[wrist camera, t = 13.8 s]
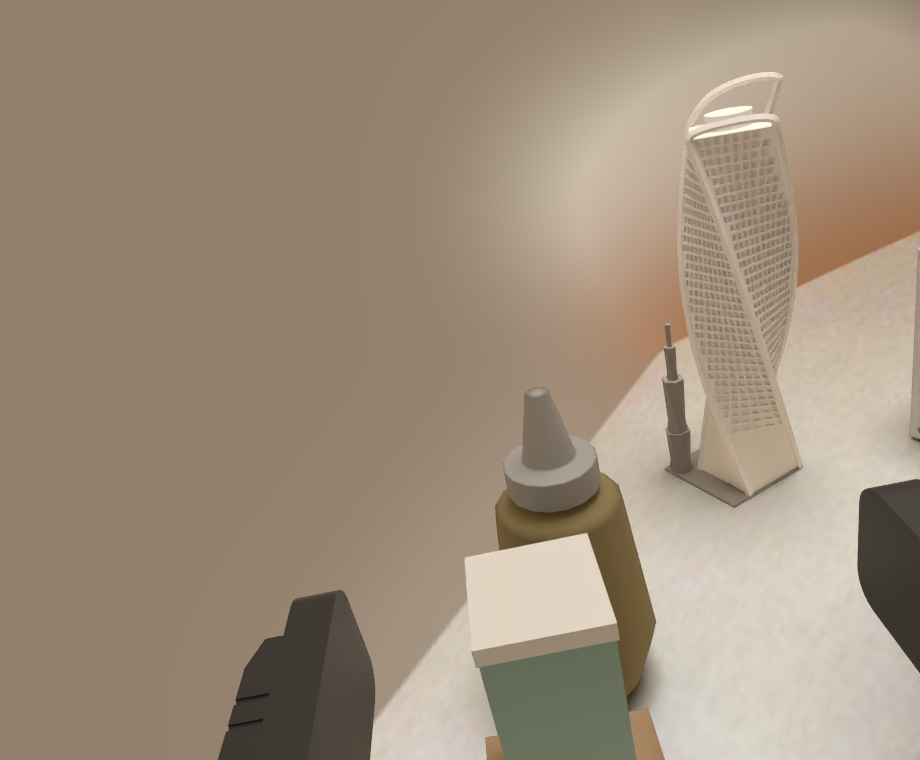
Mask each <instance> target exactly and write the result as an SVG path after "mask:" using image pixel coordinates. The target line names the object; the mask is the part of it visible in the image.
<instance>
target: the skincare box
mask: <svg viewBox="0 0 920 760" xmlns="http://www.w3.org/2000/svg"><path fill="white" fill-rule="evenodd" d="M910 435H911V436H913V437H915V438H917V439H920V248H919V249H918V265H917V288H916V310H915V333H914V354H913V376H912V399H911V420H910Z"/></svg>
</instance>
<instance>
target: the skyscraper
mask: <svg viewBox="0 0 920 760" xmlns="http://www.w3.org/2000/svg"><path fill="white" fill-rule="evenodd" d="M766 80H770V81H774V82H773V86H772V89H771V92H770V96H769V99H768V102H767V106H766V109H765V112H764V114H753V108H752V107H751V106H741V107H732V108H726V109H721V110H717V111H713V112H710V113H707V114H705V115H704V124H702V125H696V126H694V124H695V122H696V120H697V118H698V117H699V115H700V113H701V112H702V110H703V109H704V108H705V106H706V105H707V104H708V103H709V102H710V101H711V100H712V99H714V98H715V97H717V96H718V95H720V94H722V93H723V92H726V91H728V90H730V89H732V88H735V87H738V86H741V85H744V84H747V83H752V82H757V81H766ZM782 81H783V76H782V75H780V74H779V73H775V72H763V73H756V74H751V75H747V76H743V77H740V78H737V79H734V80H732V81H730V82H727V83H724V84H722V85H720V86H718V87H717V88H715V89H713V90H712V91H711V92H709V93H708V94H707V95H706V96H705V97H704V98H703V99H702V100H701V101H700V102H699V103H698V104H697V106H696V107H695V109H694V110H693V112H692V114H691V116H690V117H689V119H688V121H687V123H686V126H685V133H684V143H683V153H682V164H681V176H680V188H679V203H678V230H677V232H678V234H677V248H678V270H679V281H680V290H681V297H682V304H683V311H684V316H685V321H686V326H687V331H688V335H689V339H690V343H691V347H692V351H693V355H694V359H695V362H696V365H697V369H698V372H699V376H700V379H701V382H702V385H703V388H704V391H705V394H706V403H705V411H704V418H703V426H702V434H701V442H700V449H699V450H697V451H696V452H694V453H692V454H690V429H689V427H688V425H687V424H686V419H685V402H684V382H683V378H682V376H681V375H677V368H676V351H675V346H674V344H671V334H670V324H669V323H667V324H665V331H666V339H667V345H666V346H664V352H665V359H666V367H667V376H665V377H663V378H662V380H663V387H664V394H665V401H666V408H667V415H668V427H667V428H666V432H667V439H668V445H669V451H670V457H671V463H670V466H668V467H666V468H665V470H666V471H668V472H670V473H671V474H673V475H675V476H677V477H679V478H681V479H682V480H684V481H686V482H688V483H690V484H692V485H693V486H695V487H697V488H699V489H701V490H703V491H704V492H706V493H708V494H710V495H712V496H714V497H715V498H717V499H719V500H721V501H723V502H725V503H726V504H728V505H730V506H732V507H734V508H735V507H736V506H738V505H740V504H741V503H743V502H745V501H746V500H748V499H750V498H752V497H753V496H755V495H757V494H758V493H760V492H762V491H763V490H765V489H767V488H768V487H770V486H772V485H773V484H775V483H777V482H778V481H780V480H782V479H783V478H785V477H787V476H788V475H790V474H792V473H793V472H795V471H797V470H799V469H800V468H802V462H801V459H800V455H799V452H798V448H797V445H796V442H795V438H794V435H793V432H792V428H791V425H790V422H789V418H788V415H787V412H786V408H785V405H784V402H783V398H782V395H781V392H780V389H779V386H778V382H777V379H776V374H777V370H778V367H779V364H780V361H781V357H782V354H783V350H784V347H785V343H786V339H787V335H788V331H789V327H790V322H791V318H792V312H793V307H794V301H795V294H796V286H797V275H798V229H797V217H796V209H795V201H794V195H793V189H792V183H791V177H790V171H789V166H788V161H787V156H786V152H785V147H784V142H783V137H782V132H781V127H780V119H779V117H778V116H776V115H774V114H772V113H773V110H774V107H775V103H776V100H777V97H778V94H779V91H780V87H781V84H782Z"/></svg>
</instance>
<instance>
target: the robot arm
mask: <svg viewBox="0 0 920 760" xmlns="http://www.w3.org/2000/svg"><path fill="white" fill-rule="evenodd" d="M857 565H858V575H859V580H860V584H861V587H862V590H863V592H864V595H865V597H866V599H867V601H868V603H869V605H870V606H871V608H872V609H873V611H874V612H875V614H876V615H877V616H878V618H879V619H880V620H881V622H882V623H883V624H884V626H885V627H886V628H887V630H888V631H889V632H890V634H891V635H892V636H893V638H894V639H895V640H896V642H897V643H898V644H899V646H900V647H901V648H902V650H903V651H904V652H905V654H906V655H907V656H908V658H909V659H910V660H911V662H912V663H913V664H914V666H915V667H916V668H917V670H918V671H919V672H920V480H919V479H914V480H909V481H904V482H899V483H893V484H888V485H883V486H878V487H873V488H868V489H865V490H863V491H862V493H861V495H860V501H859V531H858V564H857ZM374 706H375V681H374V673H373V668H372V663H371V660H370V656H369V654H368V651H367V648H366V646H365V643H364V641H363V638H362V635H361V633H360V630H359V628H358V625H357V622H356V620H355V617H354V614H353V612H352V609H351V607H350V604H349V602H348V599H347V597H346V595H345V593H344V592H343V591H342V590H337V591H332V592H327V593H322V594H317V595H312V596H307V597H302V598H297V599H295V600H294V601H293V602H292V605H291V607H290V612H289V615H288V620H287V624H286V628H285V632H284V636H278V637H273V638H268V639H265V640H264V642H263V643H262V645H261V646H260V647H259V649H258V650H257V652H256V653H255V654H254V656H253V657H252V659H251V660H250V662H249V663H248V665H247V666H246V667H245V669H244V673H243V676H242V679H241V683H240V686H239V690H238V693H237V696H236V705H234V707H233V710H232V714H231V717H230V720H229V724H228V726H229V731H228V732H226V734H225V737H224V741H223V744H222V748H221V751H220V755H219V758H218V760H370V752H371V741H372V729H373V718H374Z"/></svg>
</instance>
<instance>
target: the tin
mask: <svg viewBox="0 0 920 760" xmlns="http://www.w3.org/2000/svg"><path fill="white" fill-rule="evenodd" d="M465 571H466V584H467V597H468V611H469V624H470V638H471V651H472V655H473V659H474V662H475V666H476V668H478V667H479V668H480V672H481V675H482V679H483V683H484V686H485V690H486V693H487V697H488V701H489V704H490V708H491V711H492V715H493V719H494V722H495V726H496V729H497V733H498V737H499V740H500V744H501V747H502V751H503V755H504V758H505V760H637V759H636V753H635V747H634V741H633V735H632V729H631V723H630V717H629V711H628V705H627V699H626V693H625V687H624V681H623V675H622V669H621V663H620V657H619V651H618V645H617V640H620V637H619V631H618V625H617V621H616V618H615V615H614V612H613V609H612V606H611V603H610V600H609V597H608V594H607V591H606V588H605V585H604V582H603V579H602V576H601V573H600V570H599V567H598V564H597V561H596V558H595V555H594V552H593V549H592V546H591V543H590V540H589V537H588V534H587V533H584V534H579V535H574V536H569V537H565V538H560V539H555V540H550V541H545V542H540V543H535V544H530V545H525V546H520V547H515V548H510V549H505V550H500V551H495V552H491V553H485V554H481V555H475V556H471V557H466V558H465Z"/></svg>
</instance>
